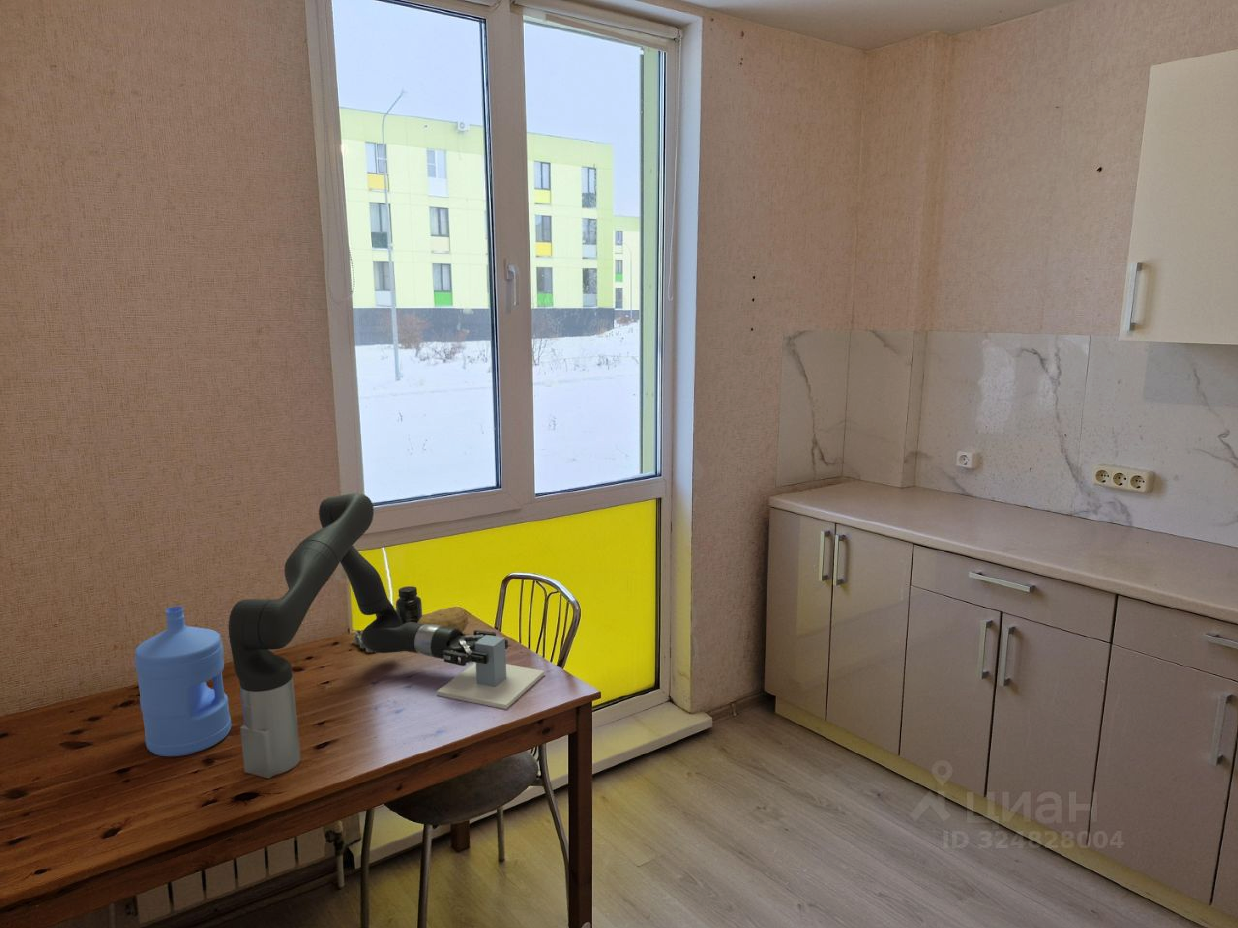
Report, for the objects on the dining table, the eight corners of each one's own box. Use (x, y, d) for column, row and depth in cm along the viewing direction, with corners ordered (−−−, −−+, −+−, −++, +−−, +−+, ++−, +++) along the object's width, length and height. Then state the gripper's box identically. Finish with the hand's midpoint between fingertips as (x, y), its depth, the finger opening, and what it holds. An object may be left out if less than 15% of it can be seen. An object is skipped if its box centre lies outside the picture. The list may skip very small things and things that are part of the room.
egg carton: (351, 643, 213) (350, 628, 212) (378, 635, 217) (377, 621, 216) (367, 655, 204) (366, 640, 204) (395, 647, 209) (394, 632, 208)
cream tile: (506, 709, 176) (506, 704, 175) (437, 695, 182) (437, 691, 182) (544, 674, 192) (544, 670, 192) (479, 663, 199) (479, 659, 198)
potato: (410, 640, 213) (409, 611, 212) (459, 627, 221) (458, 600, 220) (425, 652, 205) (423, 623, 204) (475, 639, 213) (473, 610, 212)
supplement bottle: (426, 626, 223) (424, 584, 220) (418, 635, 216) (415, 593, 214) (402, 625, 223) (400, 584, 221) (393, 635, 217) (390, 592, 214)
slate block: (495, 687, 184) (493, 646, 182) (476, 683, 186) (474, 643, 184) (506, 677, 188) (504, 637, 186) (487, 674, 190) (486, 634, 188)
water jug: (136, 764, 156) (117, 628, 151) (158, 724, 171) (142, 600, 166) (223, 751, 160) (208, 619, 155) (238, 714, 175) (224, 592, 170)
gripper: (419, 638, 184) (480, 648, 178) (454, 616, 197) (512, 625, 191) (421, 668, 185) (482, 680, 179) (456, 644, 198) (513, 654, 192)
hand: (497, 651), depth 185 cm, fingers open, 8 cm apart
